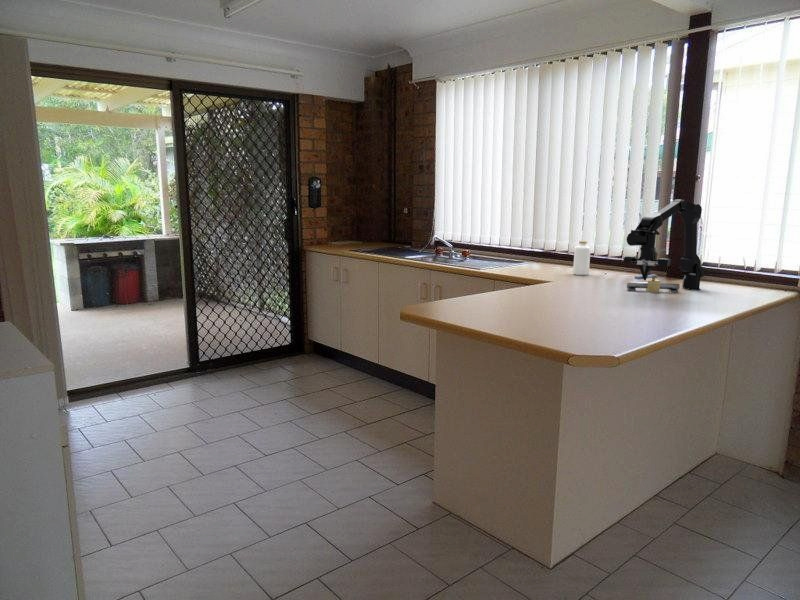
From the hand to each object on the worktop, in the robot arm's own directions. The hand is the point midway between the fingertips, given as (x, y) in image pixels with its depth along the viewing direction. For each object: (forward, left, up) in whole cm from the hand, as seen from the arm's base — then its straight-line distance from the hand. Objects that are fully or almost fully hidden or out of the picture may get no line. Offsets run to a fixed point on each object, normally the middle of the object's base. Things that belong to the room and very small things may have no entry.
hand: (644, 280), depth 253 cm
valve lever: (-1, -4, 0) cm, 4 cm away
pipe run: (-5, -7, -6) cm, 11 cm away
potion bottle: (+24, -51, -6) cm, 57 cm away
